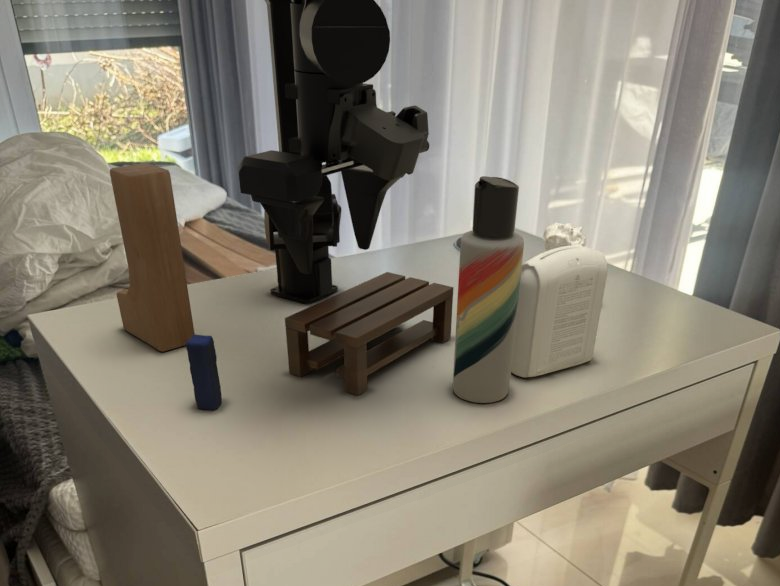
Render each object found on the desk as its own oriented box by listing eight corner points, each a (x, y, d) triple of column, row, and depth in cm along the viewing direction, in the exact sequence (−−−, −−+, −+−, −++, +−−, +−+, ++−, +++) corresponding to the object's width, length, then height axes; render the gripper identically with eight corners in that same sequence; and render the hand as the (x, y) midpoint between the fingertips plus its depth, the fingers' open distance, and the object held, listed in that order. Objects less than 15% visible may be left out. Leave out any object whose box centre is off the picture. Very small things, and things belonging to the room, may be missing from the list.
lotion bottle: (449, 379, 80) (459, 170, 68) (503, 378, 81) (523, 170, 69) (456, 405, 76) (469, 185, 64) (513, 403, 76) (537, 185, 64)
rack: (288, 373, 81) (284, 317, 77) (386, 321, 93) (387, 271, 89) (357, 396, 77) (356, 338, 73) (450, 338, 89) (453, 287, 85)
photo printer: (570, 348, 87) (588, 235, 80) (598, 362, 84) (618, 245, 77) (500, 368, 83) (511, 250, 75) (526, 383, 80) (540, 262, 72)
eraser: (224, 401, 75) (214, 334, 71) (215, 411, 74) (205, 343, 70) (203, 399, 76) (193, 332, 72) (194, 409, 74) (182, 341, 70)
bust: (586, 315, 101) (554, 234, 100) (632, 292, 95) (598, 205, 94) (527, 338, 95) (492, 251, 94) (572, 315, 89) (534, 222, 87)
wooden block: (122, 329, 90) (86, 160, 79) (157, 320, 92) (127, 154, 81) (161, 353, 84) (128, 175, 74) (197, 343, 87) (171, 169, 76)
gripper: (339, 89, 55) (346, 305, 64) (467, 68, 67) (457, 251, 77) (223, 77, 59) (245, 280, 69) (363, 60, 72) (365, 233, 81)
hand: (336, 260), depth 74 cm, fingers open, 9 cm apart
